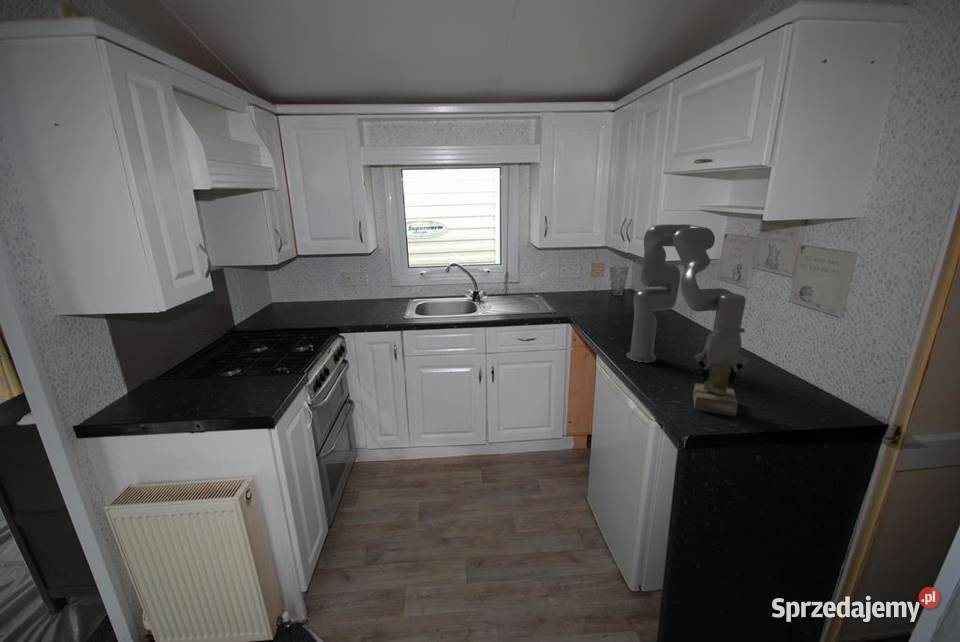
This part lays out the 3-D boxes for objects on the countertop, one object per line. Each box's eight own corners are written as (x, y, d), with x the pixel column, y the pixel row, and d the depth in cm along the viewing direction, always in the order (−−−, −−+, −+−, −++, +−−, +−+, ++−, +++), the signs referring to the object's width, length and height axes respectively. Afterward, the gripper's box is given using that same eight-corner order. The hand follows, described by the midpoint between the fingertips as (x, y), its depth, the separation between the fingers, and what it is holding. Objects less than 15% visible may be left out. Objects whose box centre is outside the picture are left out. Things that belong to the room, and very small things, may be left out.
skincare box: (703, 389, 139) (708, 356, 136) (707, 385, 142) (712, 353, 139) (723, 395, 135) (730, 362, 131) (727, 391, 138) (733, 358, 134)
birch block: (692, 395, 148) (694, 382, 146) (730, 401, 143) (733, 388, 141) (694, 410, 137) (696, 396, 136) (735, 417, 132) (738, 403, 131)
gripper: (750, 329, 134) (740, 377, 139) (694, 326, 138) (686, 373, 143) (760, 336, 127) (750, 387, 132) (701, 333, 131) (692, 382, 136)
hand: (717, 379), depth 137 cm, fingers closed on skincare box, 7 cm apart
